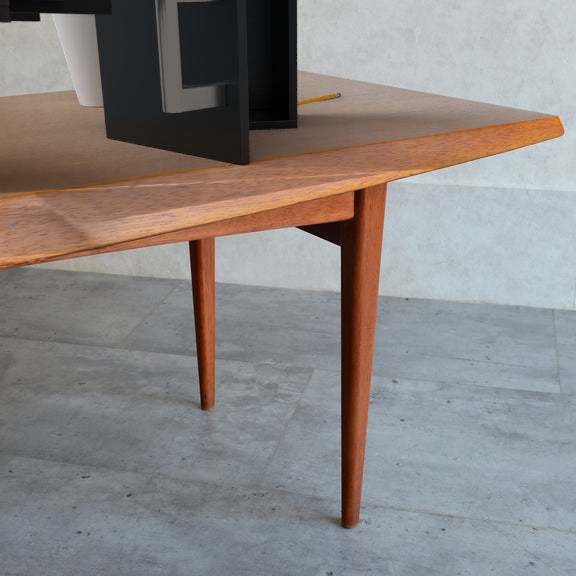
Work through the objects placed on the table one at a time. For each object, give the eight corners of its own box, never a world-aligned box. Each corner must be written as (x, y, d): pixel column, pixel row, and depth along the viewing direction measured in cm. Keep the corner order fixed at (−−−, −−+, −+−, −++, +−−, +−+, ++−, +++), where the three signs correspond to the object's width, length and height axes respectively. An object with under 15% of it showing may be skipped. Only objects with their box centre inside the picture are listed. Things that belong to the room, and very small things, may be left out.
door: (189, 177, 59) (173, -99, 52) (55, 146, 71) (26, -80, 64) (250, 163, 64) (243, -92, 56) (114, 136, 76) (94, -75, 69)
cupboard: (297, 129, 80) (297, -74, 73) (110, 137, 77) (90, -76, 69) (279, 115, 89) (277, -67, 82) (111, 122, 86) (93, -68, 78)
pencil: (341, 97, 106) (341, 92, 106) (288, 109, 96) (288, 104, 96) (336, 97, 106) (336, 92, 106) (283, 109, 96) (283, 103, 96)
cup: (68, 98, 106) (58, 6, 101) (152, 96, 107) (145, 5, 102) (52, 110, 95) (39, 7, 90) (145, 108, 96) (137, 6, 91)
